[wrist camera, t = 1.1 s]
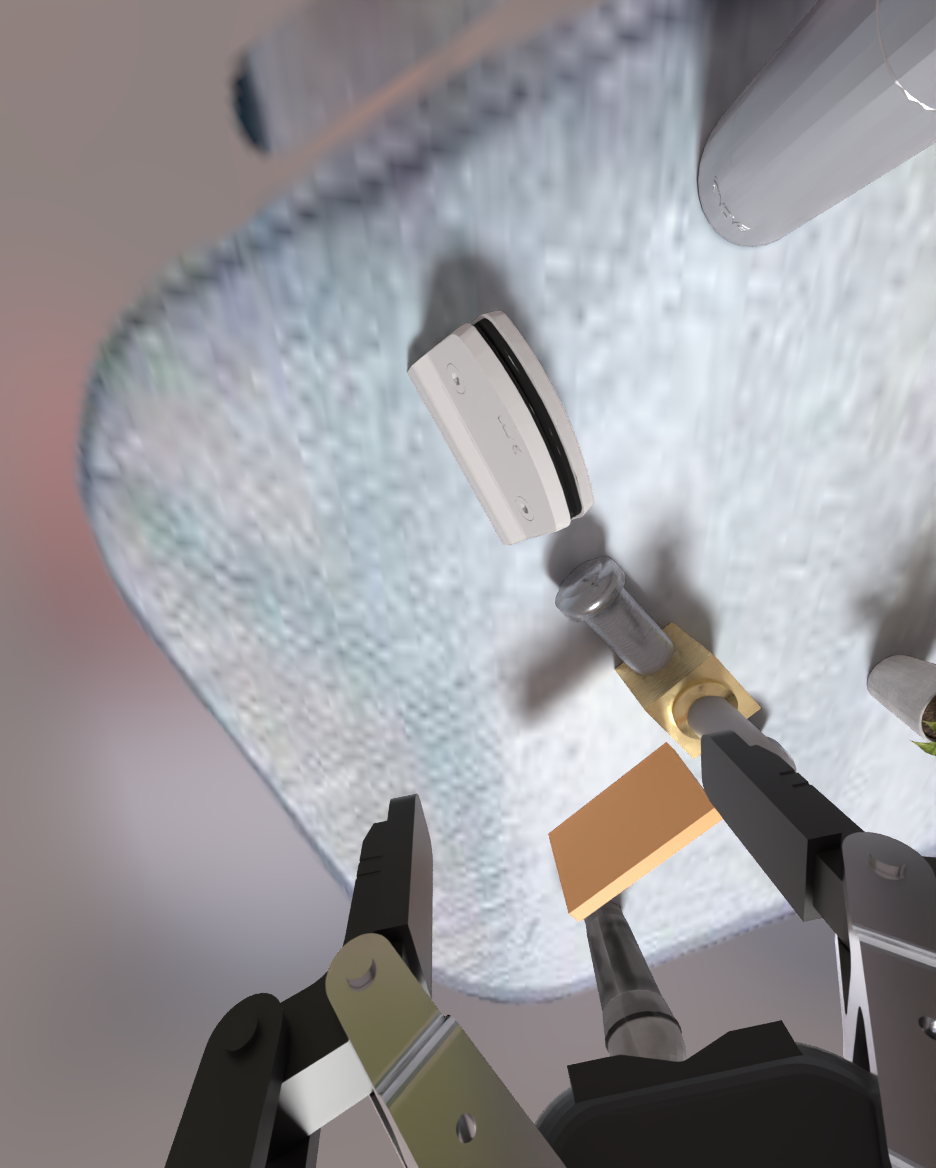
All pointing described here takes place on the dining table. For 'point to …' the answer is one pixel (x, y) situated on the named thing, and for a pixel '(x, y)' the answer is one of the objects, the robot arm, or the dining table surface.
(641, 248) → the dining table surface
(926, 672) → the house plant
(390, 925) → the robot arm
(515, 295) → the dining table surface
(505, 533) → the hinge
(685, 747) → the valve
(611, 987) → the beverage cup
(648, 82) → the dining table surface
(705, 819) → the lever
